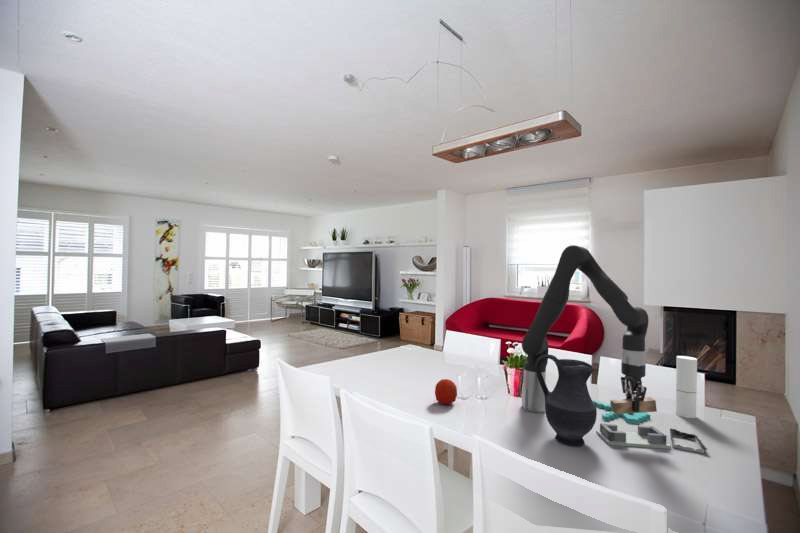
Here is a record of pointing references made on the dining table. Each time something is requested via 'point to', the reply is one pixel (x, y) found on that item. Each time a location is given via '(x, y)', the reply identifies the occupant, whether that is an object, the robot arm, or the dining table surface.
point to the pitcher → (569, 400)
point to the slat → (626, 406)
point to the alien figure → (627, 417)
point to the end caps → (649, 431)
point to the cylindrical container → (686, 386)
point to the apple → (445, 392)
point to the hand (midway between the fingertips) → (632, 409)
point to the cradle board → (634, 441)
